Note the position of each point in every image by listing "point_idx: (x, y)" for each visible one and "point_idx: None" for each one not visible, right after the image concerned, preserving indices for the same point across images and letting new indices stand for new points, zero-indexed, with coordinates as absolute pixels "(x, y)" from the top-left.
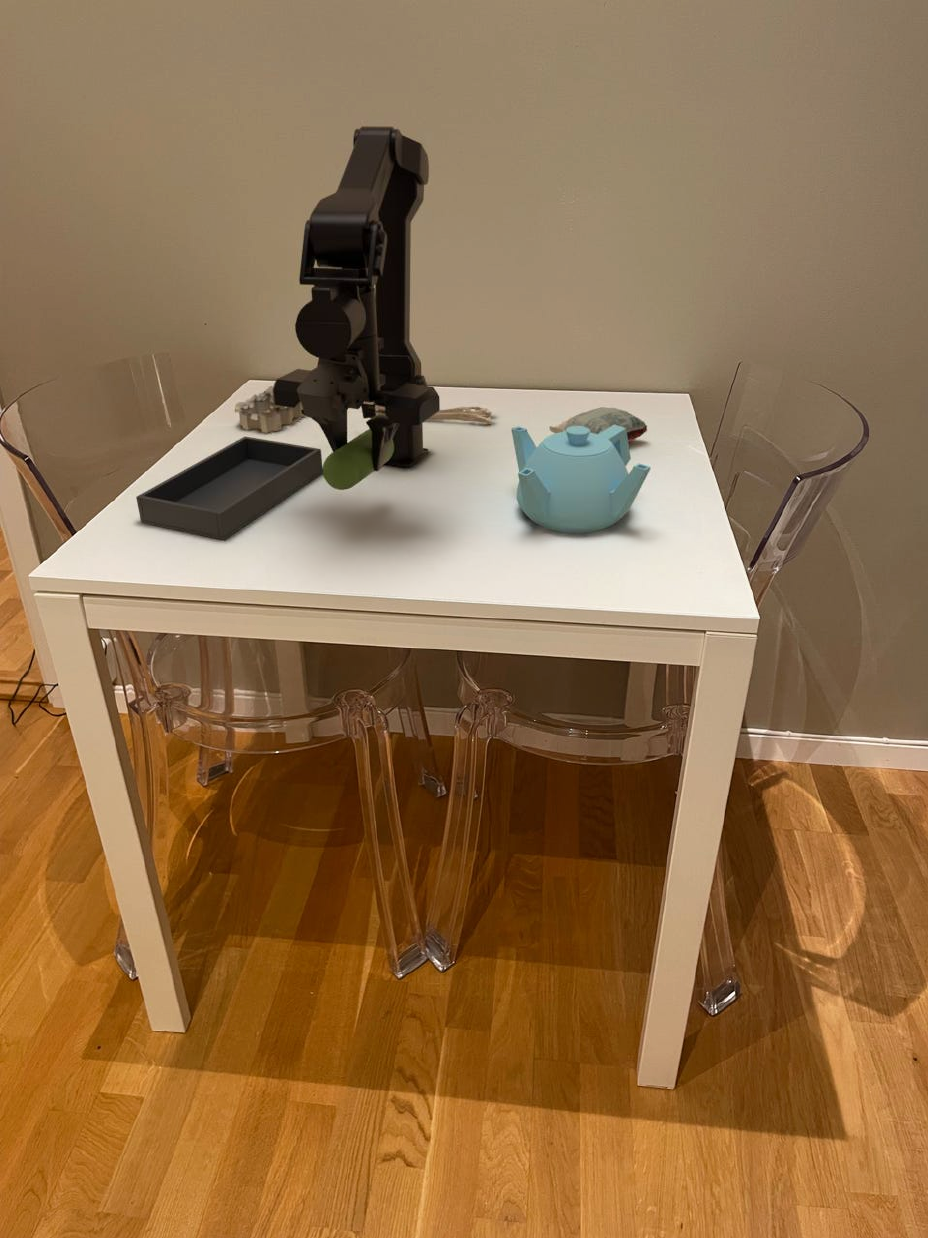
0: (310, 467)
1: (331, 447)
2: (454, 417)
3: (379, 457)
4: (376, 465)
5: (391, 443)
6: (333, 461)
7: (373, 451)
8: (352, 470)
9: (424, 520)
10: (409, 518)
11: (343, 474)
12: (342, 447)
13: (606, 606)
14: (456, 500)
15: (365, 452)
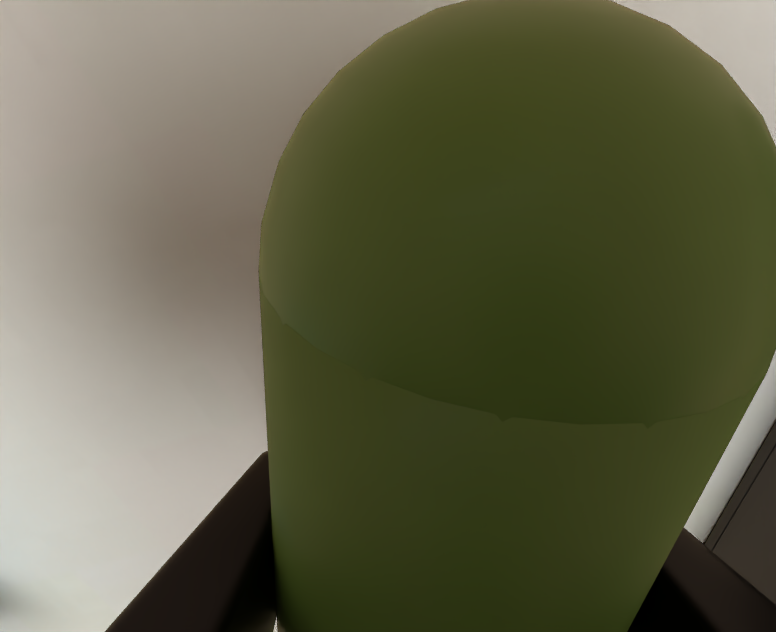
0: (758, 551)
1: (755, 592)
2: None
3: (174, 556)
4: (244, 485)
5: None
6: (631, 124)
7: (206, 611)
8: (279, 171)
9: (174, 363)
10: (239, 360)
11: (380, 45)
12: (607, 576)
13: None
14: (166, 518)
15: (306, 579)
